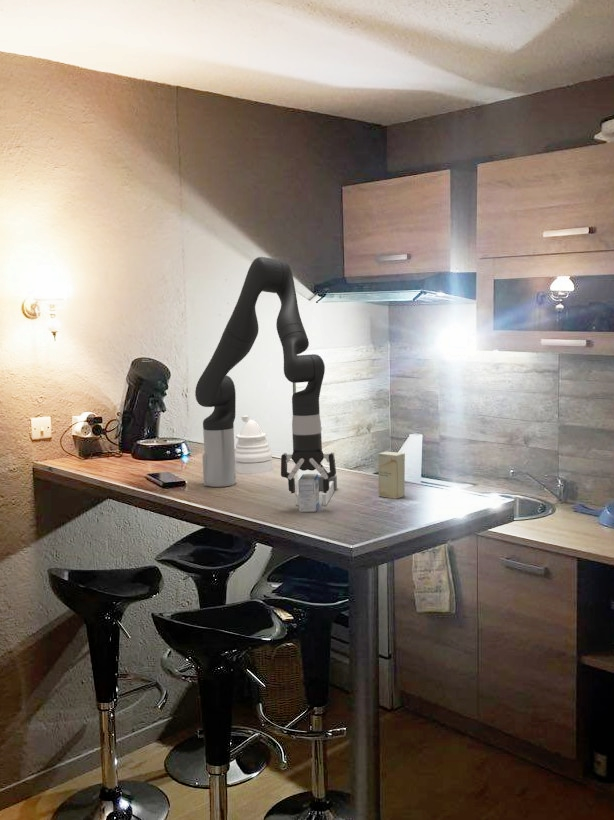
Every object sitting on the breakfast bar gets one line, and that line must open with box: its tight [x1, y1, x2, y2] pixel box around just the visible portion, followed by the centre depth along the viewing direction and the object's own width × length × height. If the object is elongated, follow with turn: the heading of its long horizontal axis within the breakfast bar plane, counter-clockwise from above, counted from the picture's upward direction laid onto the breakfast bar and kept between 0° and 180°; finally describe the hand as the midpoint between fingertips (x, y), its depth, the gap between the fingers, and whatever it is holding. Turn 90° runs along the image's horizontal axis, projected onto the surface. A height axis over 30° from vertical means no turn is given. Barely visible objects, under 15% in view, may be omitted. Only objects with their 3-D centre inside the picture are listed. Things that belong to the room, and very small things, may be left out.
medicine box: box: [297, 473, 320, 513], centre depth 221 cm, size 8×4×9 cm, turn 172°
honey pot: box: [235, 415, 273, 475], centre depth 278 cm, size 13×13×18 cm
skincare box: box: [378, 451, 406, 500], centre depth 232 cm, size 6×4×12 cm
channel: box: [296, 474, 338, 506], centre depth 236 cm, size 9×20×4 cm, turn 171°
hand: (309, 492), depth 221 cm, fingers open, 8 cm apart
